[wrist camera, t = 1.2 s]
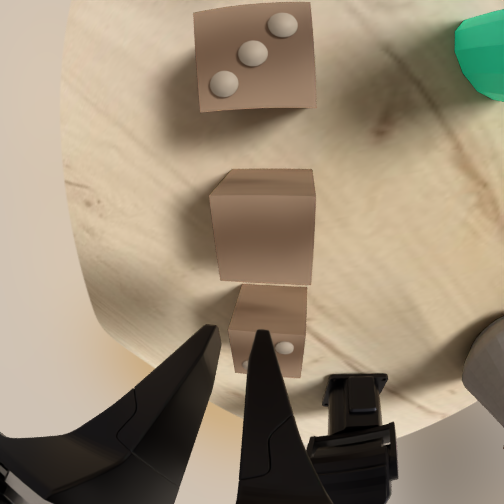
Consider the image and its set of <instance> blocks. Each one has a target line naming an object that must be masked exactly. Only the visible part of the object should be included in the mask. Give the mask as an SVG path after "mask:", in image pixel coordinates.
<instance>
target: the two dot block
mask: <svg viewBox="0 0 504 504" xmlns="http://www.w3.org/2000/svg"><path fill="white" fill-rule="evenodd" d="M306 314H307V287H291V286H271V285H252V284H242V287H241V290H240V293H239V296H238V299H237V302H236V305H235V309H234V312H233V315H232V318H231V321H230V324H229V327H228V333H229V339H230V345H231V351H232V357H233V363H234V368H235V373H243V374H247V368H248V359H249V355H250V351H251V348H252V344H253V340H254V337H255V333H256V330H257V329H265V330H269V331H270V334H271V337H272V341H273V344H274V348H275V352H276V355H277V359H278V362H279V366H280V369H281V373H282V376H283V377H288V378H300V377H301V369H302V362H303V354H304V346H305V337H306Z"/></svg>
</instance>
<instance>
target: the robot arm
mask: <svg viewBox="0 0 504 504" xmlns="http://www.w3.org/2000/svg"><path fill="white" fill-rule="evenodd" d="M220 349H221V339H220V334H219V329H218V326H216V325H210V324H206V325H204V326H203V327H201V328H200V329H199V330H198V331H197V332H196V333H195V334H194V335H193V336H192V337H190V338H189V339H188V340H187V341H186V342H185V343H184V344H183V345H181V346H180V347H179V348H178V349H177V350H176V351H175V352H174V353H173V354H171V355H170V356H169V357H168V358H167V359H166V360H165V361H163V362H162V363H161V364H160V365H159V366H158V367H157V368H156V369H154V370H153V371H152V372H151V373H150V374H149V375H148V376H146V377H145V378H144V379H143V380H142V381H141V382H140V383H139V384H137V385H136V386H135V387H134V388H133V389H132V390H130V391H129V392H128V393H127V394H126V395H124V396H123V397H122V398H121V399H120V400H118V401H117V402H116V403H115V404H113V405H112V406H111V407H109V408H108V409H106V410H105V411H104V412H102V413H101V414H99V415H98V416H96V417H94V418H93V419H92V420H90V421H88V422H87V423H85V424H84V425H82V426H81V427H79V428H78V429H76V430H74V431H72V432H70V433H67V434H64V435H58V436H47V437H34V438H9V437H6V436H5V435H3V434H2V433H1V432H0V504H174V502H175V499H176V496H177V493H178V490H179V487H180V484H181V481H182V478H183V475H184V472H185V470H186V466H187V464H188V460H189V458H190V455H191V452H192V448H193V446H194V443H195V440H196V437H197V434H198V431H199V428H200V425H201V422H202V419H203V416H204V413H205V410H206V407H207V404H208V401H209V398H210V395H211V392H212V389H213V385H214V380H215V375H216V370H217V365H218V360H219V355H220ZM387 380H388V375H387V374H374V375H332V376H330V377H329V380H328V384H327V387H326V391H325V394H324V398H323V401H322V405H323V406H329V415H328V435H327V436H319V437H316V436H313V437H310V440H309V443H308V446H307V450H305V447H304V445H303V442H302V440H301V437H300V434H299V431H298V428H297V425H296V421H295V418H294V416H293V411H292V408H291V404H290V401H289V397H288V394H287V390H286V387H285V383H284V380H283V376H282V373H281V369H280V366H279V362H278V359H277V355H276V352H275V348H274V344H273V341H272V337H271V334H270V331H269V330H265V329H257V330H256V333H255V337H254V340H253V344H252V348H251V351H250V355H249V359H248V368H247V382H246V395H245V408H244V421H243V434H242V446H241V447H242V448H241V459H240V472H239V480H240V481H239V485H238V494H237V501H236V504H386V503H387V501H388V500H389V498H390V496H391V481H392V480H397V479H398V454H397V442H396V432H395V424H394V422H391V423H389V424H386V425H382V415H381V405H380V396H379V395H380V393H381V391H382V389H383V388H384V386H385V384H386V382H387ZM389 442H390V444H389V445H384V443H389Z"/></svg>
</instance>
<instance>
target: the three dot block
mask: <svg viewBox="0 0 504 504" xmlns="http://www.w3.org/2000/svg"><path fill="white" fill-rule="evenodd" d="M193 17H194V36H195V52H196V67H197V80H198V93H199V105H200V113H202V112H211V111H222V110H235V109H252V108H317V107H316V76H315V57H314V41H313V28H312V16H311V6H310V2H276V3H259V4H248V5H238V6H230V7H223V8H217V9H211V10H205V11H200V12H195V13H193Z"/></svg>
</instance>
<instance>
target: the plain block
mask: <svg viewBox="0 0 504 504" xmlns="http://www.w3.org/2000/svg"><path fill="white" fill-rule="evenodd" d="M209 200H210V208H211V216H212V224H213V231H214V239H215V246H216V253H217V260H218V267H219V274H220V281H235V282H253V283H273V284H295V285H311V277H312V264H313V249H314V231H315V208H316V193H315V186H314V178H313V171H312V169H232V170H231V171H230V172H229V173H228V174H227V176H226V177H225V178H224V179H223V180H222V181H221V182H220V184H219V185H218V186H217V187H216V188H215V189H214V190H213V192H212V193H211V194H210V195H209Z"/></svg>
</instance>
